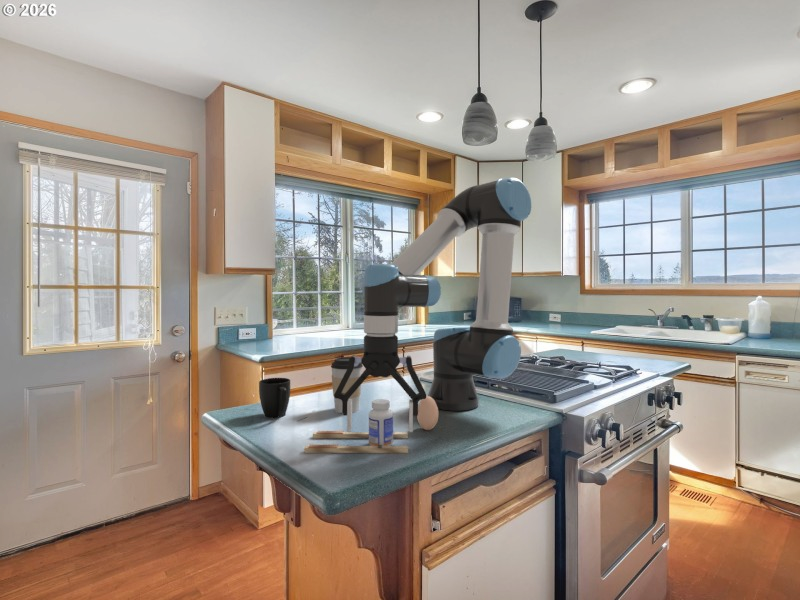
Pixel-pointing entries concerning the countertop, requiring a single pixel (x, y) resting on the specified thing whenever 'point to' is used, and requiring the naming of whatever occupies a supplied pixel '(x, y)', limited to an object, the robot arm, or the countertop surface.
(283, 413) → the mug
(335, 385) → the coffee cup
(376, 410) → the pill bottle
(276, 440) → the countertop surface
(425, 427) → the egg
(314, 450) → the beam track
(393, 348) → the robot arm
